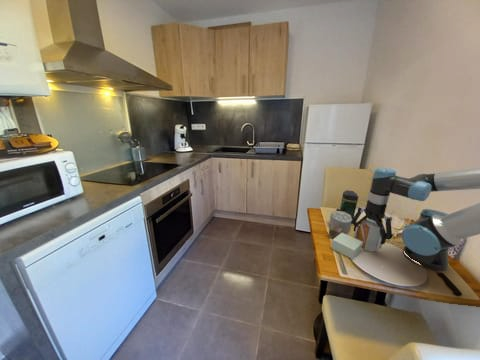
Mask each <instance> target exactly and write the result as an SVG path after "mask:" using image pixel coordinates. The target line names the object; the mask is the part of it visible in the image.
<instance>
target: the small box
mask: <svg viewBox="0 0 480 360" xmlns="http://www.w3.org/2000/svg"><path fill="white" fill-rule="evenodd" d="M358 226H359V229H358V233H357V237H356V239H358V240H360V241H362V242H363V245H362V248H363V249H362V250H363V251H364V250H373V251H372V252H377V251H378V250H377V245H378V242H379V238H380V237H381V233H380V227H378V225H377V224H376V221H373V220H370V219H368V218H367V219H366V220H364V221H362V222H361V223H360V225H358Z"/></svg>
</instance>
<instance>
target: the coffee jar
mask: <svg viewBox="0 0 480 360" xmlns="http://www.w3.org/2000/svg"><path fill="white" fill-rule="evenodd" d="M358 201H359V195H358V194H357V193H356V192H355V191H354V190H347V189H346V190H345V191H343V192H342V197H341V202H340V206H339V211H342V212H346V213H348V214H349V215H351V218H352V220H353V218H354V216H355V215H356V214H355V213H356V209H357V204H358Z"/></svg>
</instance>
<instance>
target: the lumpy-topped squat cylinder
mask: <svg viewBox="0 0 480 360" xmlns="http://www.w3.org/2000/svg"><path fill="white" fill-rule="evenodd" d="M329 217H330V218H329V227H330V228H331V227H332V225H333V226H336V227H339V228H342V233H344V234H346V235H347V234H349V233H350V230H351V226H352V223H351V221H352V218H351V215H349V214H348V213H346V212H342V211H340V210H334V211H333V210H332V211H331V212H330V216H329Z"/></svg>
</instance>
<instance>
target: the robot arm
mask: <svg viewBox="0 0 480 360" xmlns="http://www.w3.org/2000/svg"><path fill="white" fill-rule="evenodd" d="M396 173H397V172H396V170H394V169H391V168H387V167H379V168H376V169H375V170H374V173H373V176H372V180H371V185H370V189H369V193H368V197H367V202H366V205H365V207H363V206H359V207H358V208H357V212H355V213H356V214H354V218H353V220H352V221H351V225H353V226H354V227H353V232H354V235H353V238H355V239H356V237H357V233H358V229H359V225H360V223H361V222H362V221H364V220H366V219H370V220H373V221H376V224H377V225H378V227H380V233H381V237H380V238H379V242H378V245H377V251H379V250H381V248H382V245H385V243H386V240H389V241H390V240H391V239H392V238H393V232H392V221H393V217H392V216H387V215H386V210H387V204H388V202H389V199H390V194H394V195H398V196H401V197H404V198H407V199H410V200H414V201H419V202H424V201H426V200H427V199H428V198H429V197H430V195H431V193H432V192H433V193H434V192H445V191H446V192H447V191H465V190H467V191H468V190H469V191H470V190H480V168H471V169H463V170H453V171H446V172H445V171H444V172H435V173H421V174H417V175H415V176H413V177H412V176H411V177H410V178H407V177H402V176H398V175H397V174H396ZM363 212H364V213H365V215H364V216H363V217H362V218H360V216H361V214H362V213H363ZM419 214H420V215H419V217H418V219H417V220H415V221H413V222H412V223H410V224H408V225H407V226H405V227H404V229H402V231H401V232H402V233H401V239H402V242H403V244H404V247H403V249H402V251H403V250H404V251H405V253H406V254H407V255H408V256H409V257H410V258H411V259H413V260H415V261H417V262H419V263H420V264H421V265H422V266H423V267H422V266H421V267H422V268H426V269H428V270H432V271H433V270H434V271H438V272H439V271H445V270H447V269H448V266H449V254H448V250H449V249H450V248H454V247H457V246H460V245H461V243H462V240H463V239H467V238H471V237H474V236H478V235H480V202H478V203H477V204H473V205H471V206H468V207H465V208H462V209H459V210H457V211H454V212H451V213H446V212H444V211H440V210H435V209H430V208H425V209H422V210H421V212H420V213H419ZM359 218H360V219H359ZM383 219H384V221H383ZM383 222H385V225H384V223H383Z"/></svg>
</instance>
